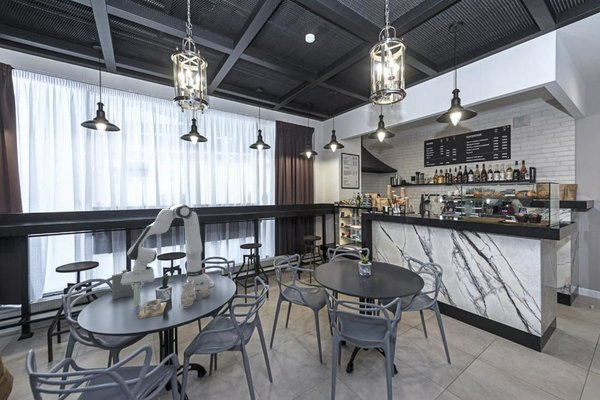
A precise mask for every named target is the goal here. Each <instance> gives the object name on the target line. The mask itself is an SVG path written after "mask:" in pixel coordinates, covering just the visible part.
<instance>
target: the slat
mask: <svg viewBox="0 0 600 400" xmlns="http://www.w3.org/2000/svg"><path fill="white" fill-rule="evenodd" d="M140 285H141V283H135V285H134V295H133V303H134V307H135V306H139V305H140V304H141V289H139V288H138V287H139V286H140Z"/></svg>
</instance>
